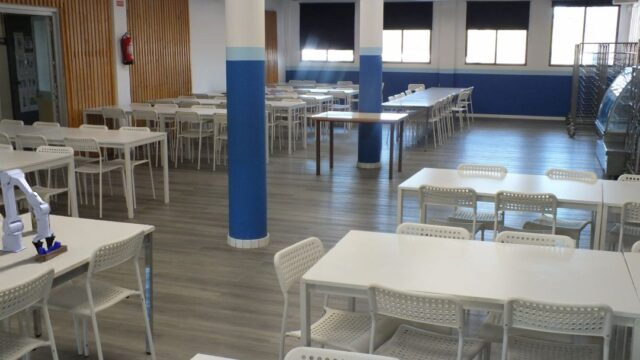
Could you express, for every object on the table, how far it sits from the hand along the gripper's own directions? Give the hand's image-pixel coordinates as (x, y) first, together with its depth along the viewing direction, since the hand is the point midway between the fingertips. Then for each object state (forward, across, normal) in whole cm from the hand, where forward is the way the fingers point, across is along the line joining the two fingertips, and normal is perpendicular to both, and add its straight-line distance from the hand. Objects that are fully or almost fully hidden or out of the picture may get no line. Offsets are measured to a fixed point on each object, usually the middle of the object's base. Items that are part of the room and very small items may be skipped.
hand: (44, 251), depth 344 cm
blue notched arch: (+2, -1, -2) cm, 3 cm away
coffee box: (+3, +39, +32) cm, 50 cm away
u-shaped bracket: (+2, 0, -4) cm, 5 cm away
